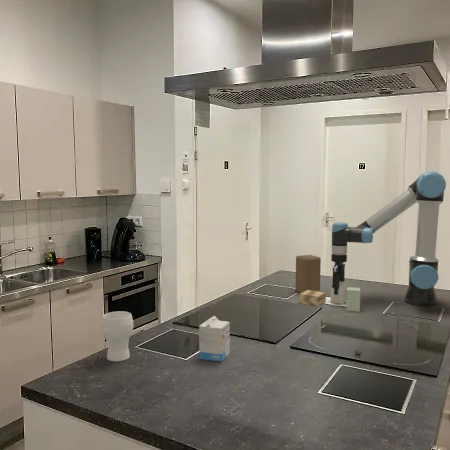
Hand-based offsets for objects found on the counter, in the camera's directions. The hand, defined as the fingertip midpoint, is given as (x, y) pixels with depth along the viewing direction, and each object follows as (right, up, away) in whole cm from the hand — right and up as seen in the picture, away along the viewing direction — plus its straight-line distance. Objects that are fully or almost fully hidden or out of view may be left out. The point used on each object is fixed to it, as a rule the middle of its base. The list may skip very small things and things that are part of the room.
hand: (338, 299), depth 232 cm
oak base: (-13, -2, 0) cm, 13 cm away
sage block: (+4, -3, -13) cm, 14 cm away
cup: (-94, -9, -72) cm, 118 cm away
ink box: (-60, -9, -71) cm, 94 cm away
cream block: (0, -1, 0) cm, 1 cm away
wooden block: (-12, 0, +20) cm, 23 cm away
